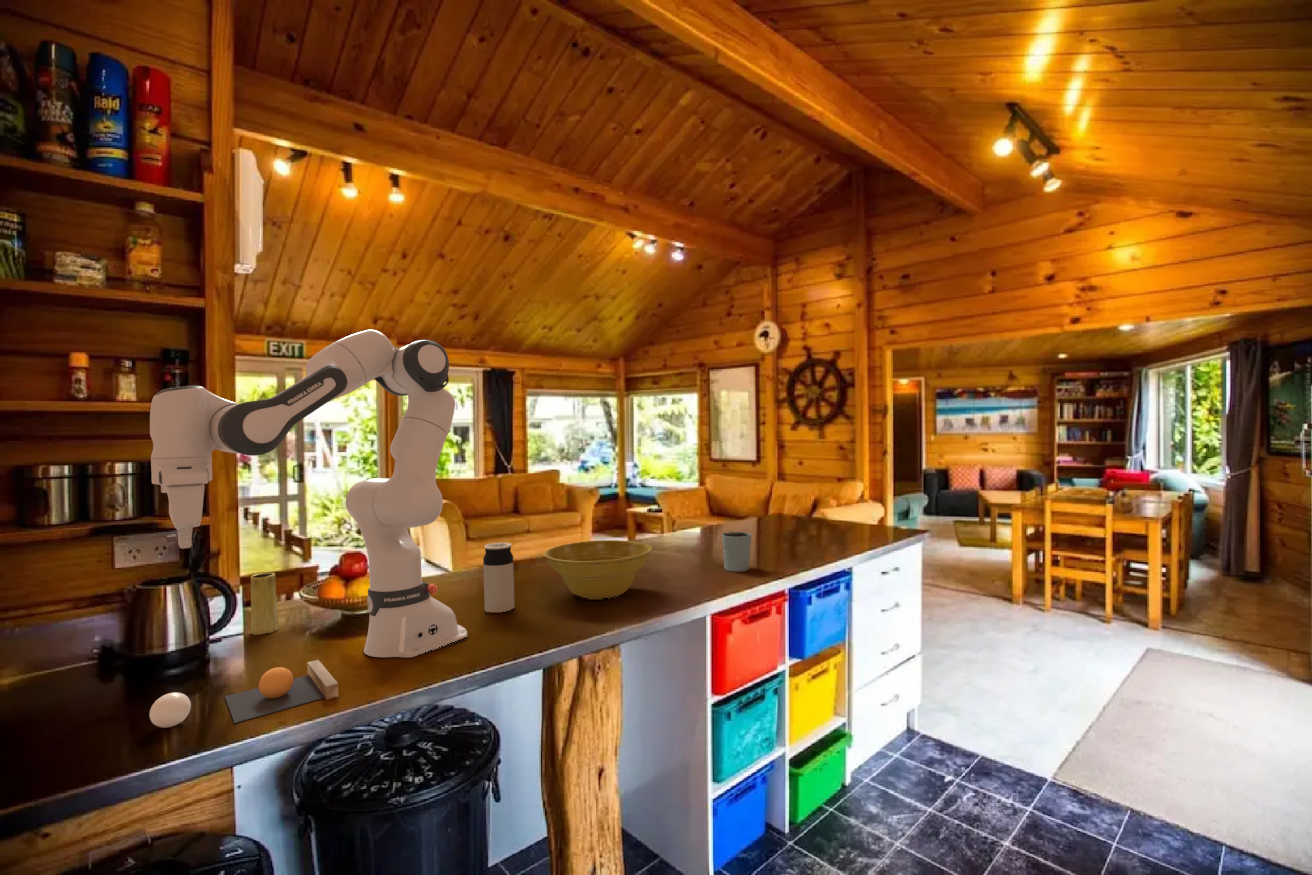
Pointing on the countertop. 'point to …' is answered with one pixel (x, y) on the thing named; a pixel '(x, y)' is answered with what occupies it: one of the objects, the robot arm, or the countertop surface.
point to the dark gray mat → (272, 700)
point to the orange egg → (276, 682)
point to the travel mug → (498, 577)
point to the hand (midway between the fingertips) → (185, 547)
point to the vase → (263, 604)
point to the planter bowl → (598, 566)
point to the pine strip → (323, 679)
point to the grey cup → (736, 551)
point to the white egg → (170, 710)
